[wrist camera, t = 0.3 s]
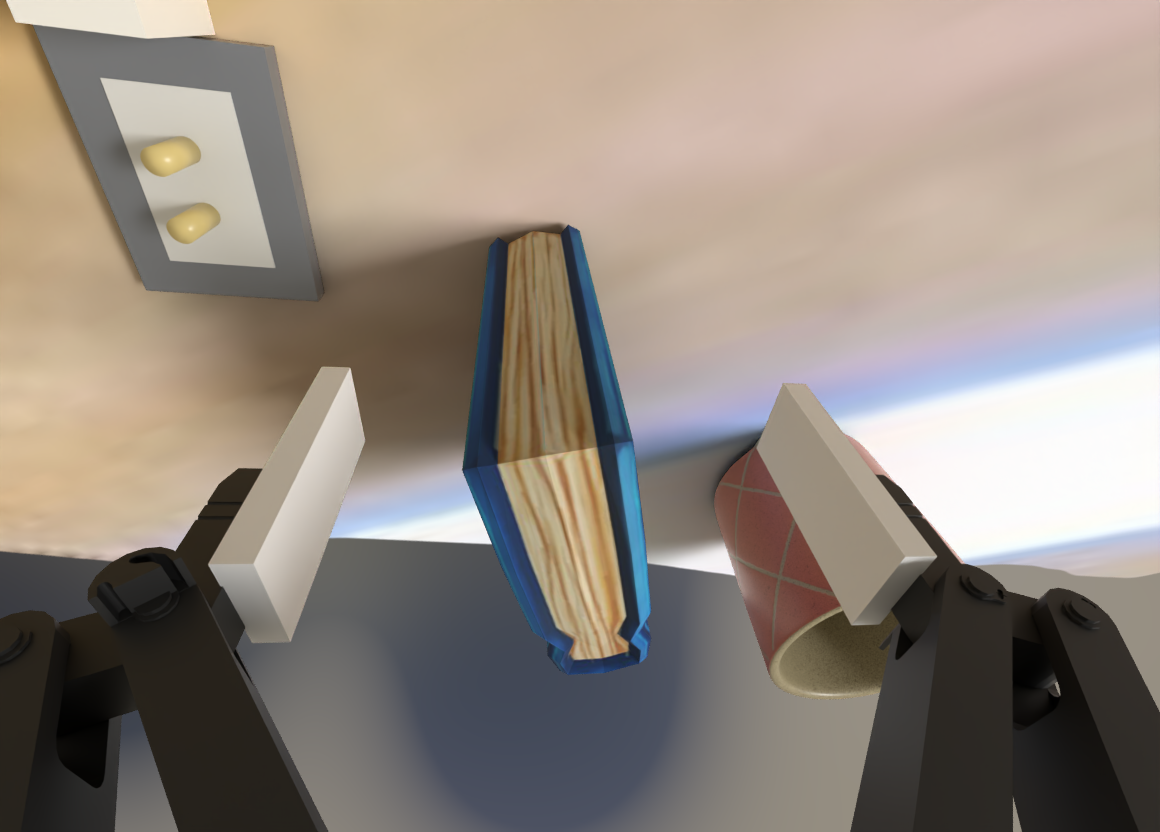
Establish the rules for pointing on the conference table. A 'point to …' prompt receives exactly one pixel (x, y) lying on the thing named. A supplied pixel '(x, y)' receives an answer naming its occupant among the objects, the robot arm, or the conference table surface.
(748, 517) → the planter
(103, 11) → the block
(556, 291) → the book
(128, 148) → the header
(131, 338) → the conference table surface
